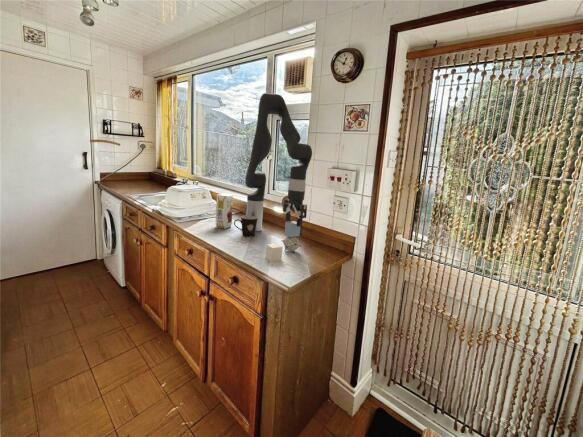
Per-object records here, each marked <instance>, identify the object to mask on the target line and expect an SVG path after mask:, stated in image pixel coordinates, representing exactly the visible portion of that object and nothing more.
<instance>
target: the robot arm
mask: <svg viewBox="0 0 583 437" xmlns="http://www.w3.org/2000/svg"><path fill="white" fill-rule="evenodd" d="M258 102H259V103H258V109H257V111H258V113H257V120H256V121H257V122H256V128H255V132H254V138H253V143H252V146H251V147H252V148H251V154H250V160H249V163H248V167H247V170H246V175H245V179H244V180H245V181H244V182H245V186H246V187H247V188H250V189H256V190H255V191H253V192H252V193H248V194H247V197H246V212H245V216H255V217H258V219H257V224H256V230H255V232H260V231H262V227H263V226H262V225H263V216H264V215H263V212H264V198H265V192H266V183H267V176H266V172H264V171H257V169H258V166H259V165H260V164H261V163H262V162H263V161H264V160H265V159H266V158H267V157H268V156H269V154H270V151H271V148H272V143H273V139H272V134H271V133H270V130H269V128H268V117H269V115H277V116H278V117H279V119H280V123H279V132H280V133H281V136H282V138H283V140H284V142H285V146H286V149H287V150H286V151H287V154H288V156H289V157H290V159H292V160H295V161H296V160H298V162H297V164H294V165H292V166H291V168H290V173H289V181H288V189H287V198H285V199H284V200H283V209H282V211H283V212H284V214H285V222H288V221H291V216H292V212H294V213H295V215H296V217H297V220H296V222H297V226H298V227H300V228H301V227H302V226H303V219H306V218H307V214H308V213H307V212H308V204H303V201H305V195H306V194H305V192H306V180H307V179H306V178H307V172H308V171H307V170H308V168H309V165H310V163H311V160H312V155H313V151H312V150H313V149H312V146H310V145H309V144H308V143H300V141H301V135H300V133H299V131H298V129H297V127H295V124H294V123H293V121H292V118H291V116H290V113H289V109H288V107H287V104H286V101H285V99H284V97H283V96H282V95H280V94H278V93H270V92H269V93H267V92H264V93H262V94H261V96H260V99H259V101H258Z"/></svg>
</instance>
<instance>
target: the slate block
mask: <svg viewBox="0 0 583 437" xmlns="http://www.w3.org/2000/svg"><path fill="white" fill-rule="evenodd" d="M284 225H285V226H284V235H285V236H287V237H288V236H289V237H297V236H299V237H300V234H301V233H300V232H301V227H298V226H297V221H296V220H290V221H288V222H286V221H285V224H284Z"/></svg>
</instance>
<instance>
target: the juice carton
mask: <svg viewBox="0 0 583 437" xmlns="http://www.w3.org/2000/svg"><path fill="white" fill-rule="evenodd" d="M233 202H234V195H233V194H232V193H224V192H223V193H218V194H216V206H215V228H217V229H224V230H227V229H228V228H231V227H232V223H233V205H234V204H233Z"/></svg>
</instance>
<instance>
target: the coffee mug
mask: <svg viewBox="0 0 583 437" xmlns="http://www.w3.org/2000/svg"><path fill="white" fill-rule="evenodd" d="M257 219H258V217H255V216H246V215H241V216H240V219H238V218H237V219H235V220H234V222H233V225H234V226H235V227H236V229H238V230H239V231H240V232H241V235H242V237H243V238H244V237H245V238H254V237H255V234H256V231H255V230H256V224H257ZM236 222H240V224H241V228H240V227H238V226H237V225H236Z"/></svg>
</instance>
